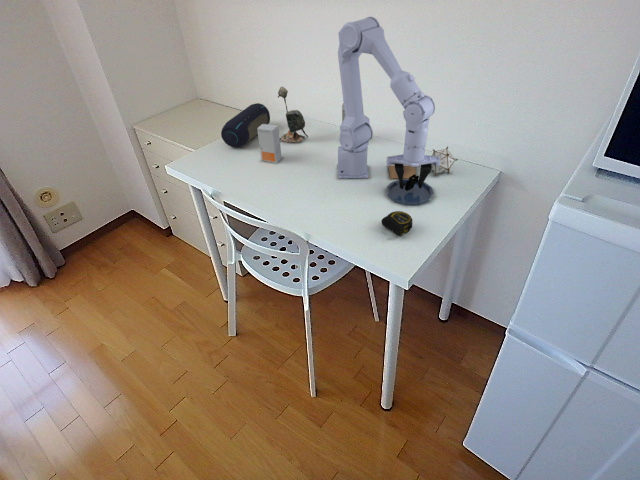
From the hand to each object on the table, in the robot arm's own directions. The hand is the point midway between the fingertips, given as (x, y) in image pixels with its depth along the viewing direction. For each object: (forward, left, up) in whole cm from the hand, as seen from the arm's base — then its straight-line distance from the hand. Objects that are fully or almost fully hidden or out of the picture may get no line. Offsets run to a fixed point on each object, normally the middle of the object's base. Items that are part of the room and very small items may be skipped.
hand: (410, 186), depth 117 cm
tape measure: (-5, -19, -3) cm, 19 cm away
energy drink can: (-18, +36, -2) cm, 41 cm away
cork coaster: (-1, +12, -2) cm, 13 cm away
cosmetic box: (-45, +21, -2) cm, 50 cm away
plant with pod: (-39, +37, -3) cm, 54 cm away
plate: (0, 0, -2) cm, 2 cm away
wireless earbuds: (0, 0, -1) cm, 1 cm away
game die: (+11, +12, -3) cm, 17 cm away
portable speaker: (-57, +40, -2) cm, 70 cm away
